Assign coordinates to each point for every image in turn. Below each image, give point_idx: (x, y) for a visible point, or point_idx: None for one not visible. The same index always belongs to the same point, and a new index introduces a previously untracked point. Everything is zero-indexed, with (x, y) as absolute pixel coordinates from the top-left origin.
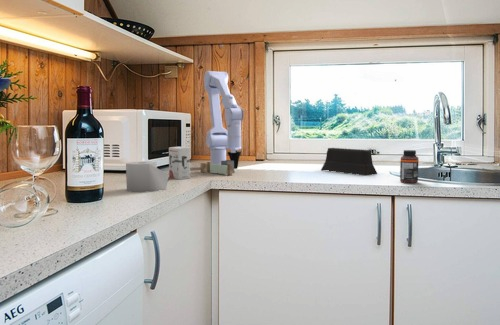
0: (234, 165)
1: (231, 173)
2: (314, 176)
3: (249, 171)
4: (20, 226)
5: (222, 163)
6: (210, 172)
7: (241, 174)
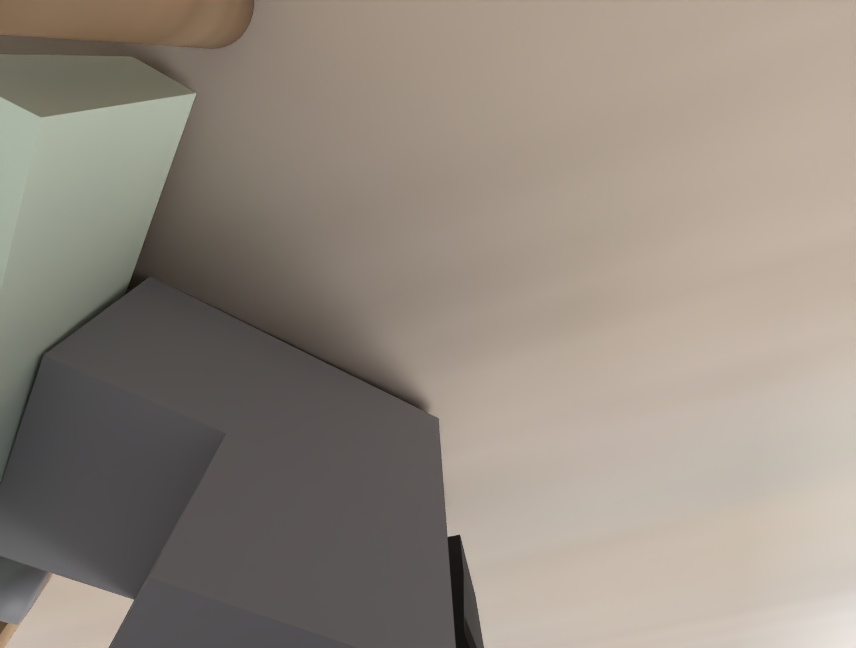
0: None
1: None
2: None
3: (607, 628)
4: None
5: (165, 546)
6: (201, 47)
7: None
